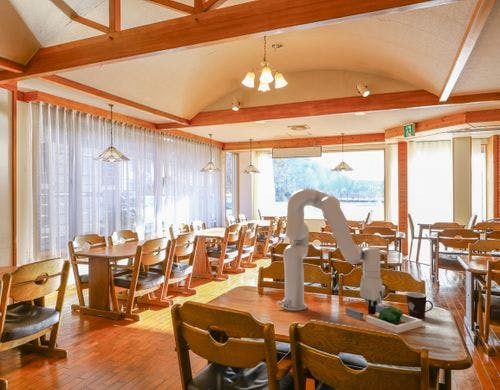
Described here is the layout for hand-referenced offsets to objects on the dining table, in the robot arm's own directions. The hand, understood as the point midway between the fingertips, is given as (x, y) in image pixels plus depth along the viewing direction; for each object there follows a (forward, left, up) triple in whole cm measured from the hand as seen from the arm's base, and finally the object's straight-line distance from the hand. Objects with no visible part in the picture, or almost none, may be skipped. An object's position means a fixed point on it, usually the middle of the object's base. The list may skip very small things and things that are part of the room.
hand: (371, 313), depth 167 cm
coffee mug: (+16, -12, -1) cm, 20 cm away
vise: (+3, +4, -1) cm, 5 cm away
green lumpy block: (0, -10, -1) cm, 10 cm away
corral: (0, -11, -1) cm, 11 cm away
